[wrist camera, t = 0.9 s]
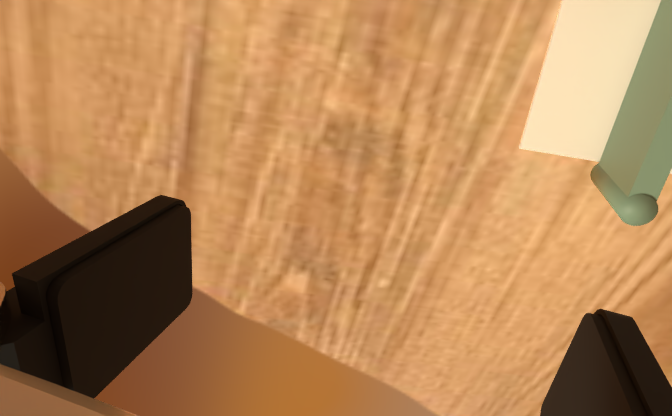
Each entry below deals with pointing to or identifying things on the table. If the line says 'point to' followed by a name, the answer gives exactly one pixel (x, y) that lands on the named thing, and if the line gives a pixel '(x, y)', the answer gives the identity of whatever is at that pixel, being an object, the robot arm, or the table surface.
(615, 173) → the fence panel
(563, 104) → the card
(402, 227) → the table surface
